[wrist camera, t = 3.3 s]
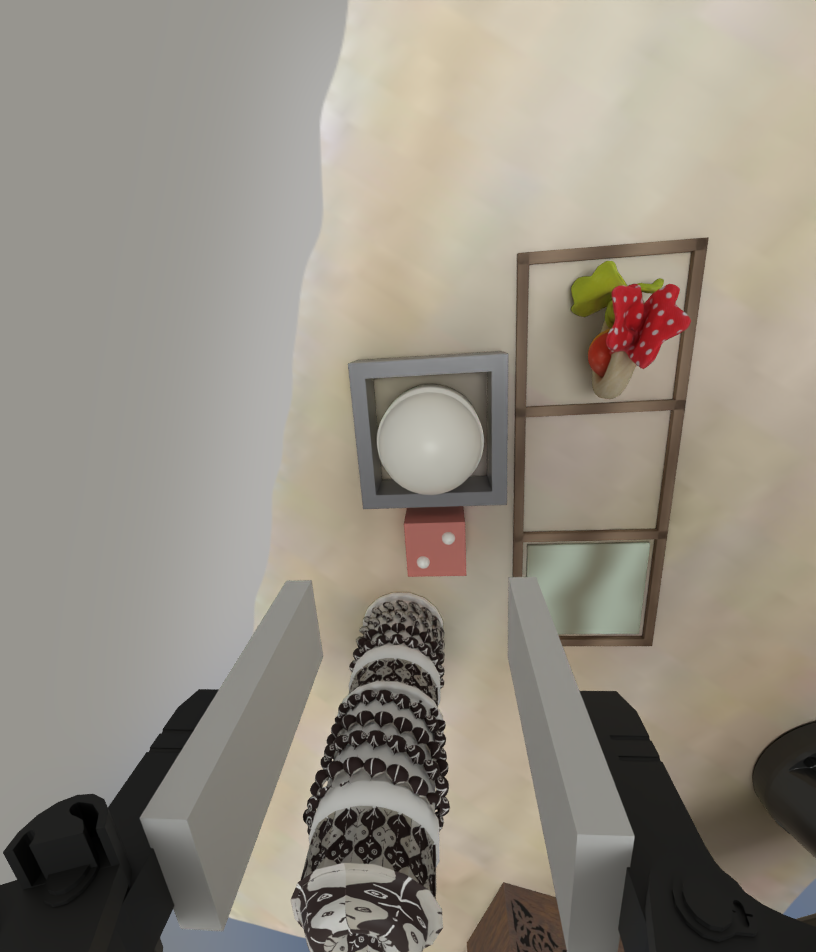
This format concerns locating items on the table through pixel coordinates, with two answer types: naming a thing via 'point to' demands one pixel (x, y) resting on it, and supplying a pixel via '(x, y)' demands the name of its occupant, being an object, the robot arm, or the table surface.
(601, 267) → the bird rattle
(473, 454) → the dome
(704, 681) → the table surface
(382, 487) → the dome housing
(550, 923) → the tissue box cover
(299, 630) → the robot arm
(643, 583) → the frame
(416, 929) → the decorative candle
